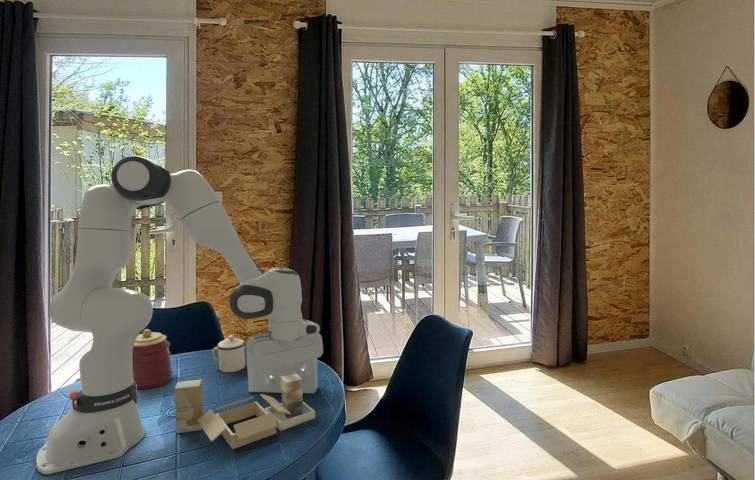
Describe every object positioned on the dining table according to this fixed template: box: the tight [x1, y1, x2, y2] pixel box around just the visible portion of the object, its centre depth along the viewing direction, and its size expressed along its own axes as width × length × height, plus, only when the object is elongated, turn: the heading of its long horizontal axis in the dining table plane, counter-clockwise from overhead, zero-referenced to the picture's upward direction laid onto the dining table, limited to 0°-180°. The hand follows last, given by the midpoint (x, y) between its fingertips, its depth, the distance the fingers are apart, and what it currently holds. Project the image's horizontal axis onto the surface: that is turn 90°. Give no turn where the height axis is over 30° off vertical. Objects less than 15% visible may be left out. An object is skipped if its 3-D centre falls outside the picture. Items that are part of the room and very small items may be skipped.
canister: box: [132, 328, 173, 390], centre depth 145 cm, size 13×13×18 cm
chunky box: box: [281, 374, 304, 418], centre depth 122 cm, size 4×4×10 cm
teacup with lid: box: [211, 334, 246, 373], centre depth 155 cm, size 12×9×12 cm
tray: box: [263, 401, 316, 432], centre depth 121 cm, size 10×10×2 cm
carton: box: [197, 393, 291, 450], centre depth 114 cm, size 20×19×6 cm
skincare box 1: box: [174, 379, 204, 434], centre depth 116 cm, size 6×4×12 cm
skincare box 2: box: [245, 338, 319, 394], centre depth 137 cm, size 21×6×16 cm, turn 84°
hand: (287, 379), depth 118 cm, fingers open, 8 cm apart
